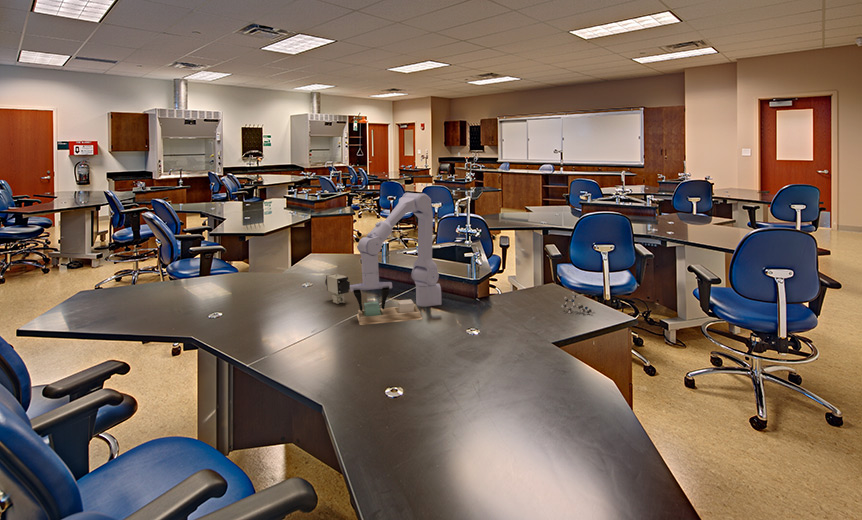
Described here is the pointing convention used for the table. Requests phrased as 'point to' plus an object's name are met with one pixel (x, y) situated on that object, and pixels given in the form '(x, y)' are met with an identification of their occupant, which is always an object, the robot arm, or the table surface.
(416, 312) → the assembly board
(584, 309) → the molecule model
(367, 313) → the teal block
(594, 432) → the table surface
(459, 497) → the table surface
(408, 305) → the cream block
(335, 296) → the pneumatic valve
